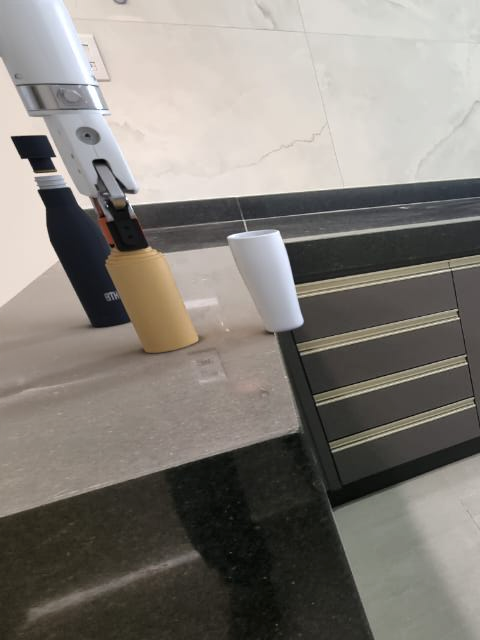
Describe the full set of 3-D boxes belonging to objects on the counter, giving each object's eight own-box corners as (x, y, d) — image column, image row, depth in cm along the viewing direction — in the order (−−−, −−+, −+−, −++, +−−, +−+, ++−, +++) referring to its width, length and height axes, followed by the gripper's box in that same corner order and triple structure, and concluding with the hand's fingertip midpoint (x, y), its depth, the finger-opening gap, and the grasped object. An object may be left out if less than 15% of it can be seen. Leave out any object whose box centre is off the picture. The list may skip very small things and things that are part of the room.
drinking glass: (298, 318, 89) (268, 228, 83) (317, 324, 85) (287, 231, 79) (253, 331, 84) (218, 236, 78) (272, 338, 80) (236, 239, 74)
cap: (148, 237, 76) (139, 213, 75) (143, 240, 73) (133, 216, 72) (111, 241, 74) (101, 217, 73) (104, 245, 71) (93, 220, 70)
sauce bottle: (134, 351, 78) (75, 226, 71) (179, 335, 83) (129, 218, 76) (165, 354, 76) (108, 226, 69) (208, 338, 82) (160, 218, 74)
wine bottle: (112, 316, 95) (25, 136, 83) (150, 313, 96) (69, 134, 84) (81, 328, 89) (-17, 137, 77) (122, 325, 90) (31, 134, 78)
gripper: (120, 98, 64) (180, 248, 72) (92, 107, 74) (148, 238, 81) (32, 98, 59) (107, 260, 66) (14, 107, 68) (82, 248, 76)
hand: (129, 246), depth 74 cm, fingers closed on cap, 3 cm apart
